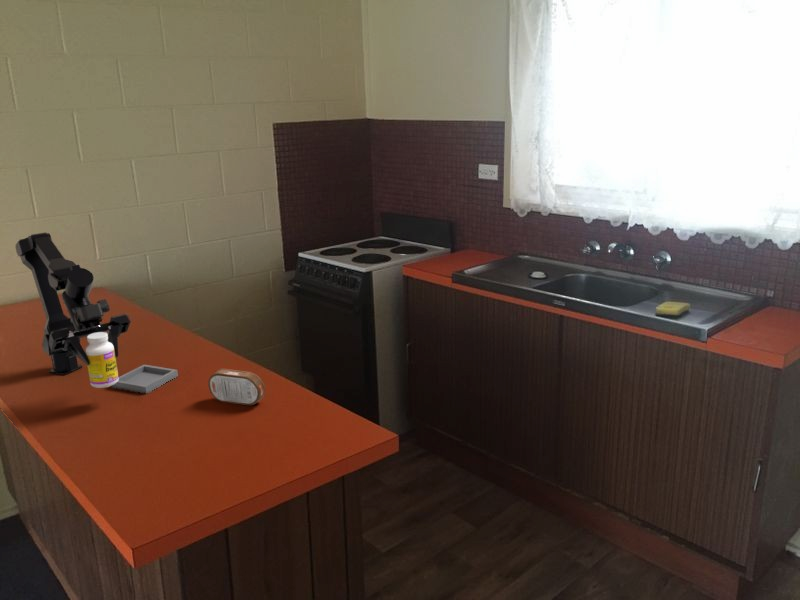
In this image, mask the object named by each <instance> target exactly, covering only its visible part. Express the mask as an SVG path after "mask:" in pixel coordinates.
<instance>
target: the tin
mask: <svg viewBox="0 0 800 600" xmlns="http://www.w3.org/2000/svg"><path fill="white" fill-rule="evenodd" d="M207 382H208V383H207V384H208V389H209V392H210V394H211V395H212V396H213V397H214V398H215V399H216V400H217V401H219V402H222V403H230V404H236V405H243V406H254V405H255V404H257V403H258V402H259V401H261V400H263V398H264V396H265V394H266V387H265V384H264V382H263V380H262V379H261V378H260V376H258V375H257V374H256V373H253V372H251V371H244V370H235V369H230V368H219V369H217V370H216V371H214V372H213V374H211V375H210V376H209V378H208V381H207Z"/></svg>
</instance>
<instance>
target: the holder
mask: <svg viewBox="0 0 800 600" xmlns="http://www.w3.org/2000/svg"><path fill="white" fill-rule="evenodd" d="M177 376H178V377H179V373H178V369H174V368H168V367H167V368H166V367H161V366H157V365H149V364H142V365H140V366H138V367H136V368H134V369H132V370H131V371H130V370H129V371H128V372H126V373H123V375H120V376H118V377H119V380H118V382H117V383H116V384H114V385H112V386H111V387H112V389H116V388H117V389H118V390H122V389H123V390H122V391H127V390H130V391H129V392H133V391H134V393H138V392H140V393H139V394H144V393H146V394H145V395H147V393H148V394H150V393H151V392H153V391H155V390H157V389H158V388H160V387H162V386H163V384H164V385H165V383H166V382H168V381H169V382H171V381H173V380H175V379H177V378H178V377H177ZM176 377H177V378H176ZM174 378H175V379H174ZM172 379H173V380H172ZM170 380H171V381H170ZM169 382H168V383H169ZM166 384H167V383H166ZM161 385H162V386H161ZM156 388H157V389H156ZM154 389H155V390H154ZM152 390H153V391H152Z"/></svg>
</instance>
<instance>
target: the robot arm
mask: <svg viewBox="0 0 800 600" xmlns="http://www.w3.org/2000/svg"><path fill="white" fill-rule="evenodd" d="M15 252H16V255H17V257H20V260H21V263H22V264H23V265H24V266H25V267H27V268H28V269H29V270H30V271H31V273H32V277H33V280H34V283H35V286H36V290H37V293H38V296H39V298H40V302H41V306H42V308H43V312H44V315H45V319H46V320H45V321H46V322H45V325H44V326H43V327H44V328H43V333H44V335H43V338H42V344H41V346H42V349H43V352H44V353H45V354H46V355H47V356H50V360H51V362H52V363H51V364H52V368H51V369H49V370H48V373H49V374H50V373H51V374H56V375H60V376H61V375H62V376H65V375H66V376H67V375H68V374H70V373H72V372H74V371H77V370H79V369H81V368H83V365H82V364H79V363H78V359H79V360H80V361H82V362H83V363H84V364H85V365H86V366H87V365H89V364H90V362H89V360H88V357H87V355H86V353H85V349H84V348H83V346H82V345H81V338H86V337H85V336H88V335H90V334H92V333H97V332H105V333H107V334H108V340H107V341H108V342H110V343H112V344H113V346H114V351H115V357H116V358H118V357H119V343H118V338H119V337H120V335H121V334H124V333H126V332H128V330H129V327H130V324H131V322H132V321H131V319H130V317H129V315H127V314H126V313H122V314H118V315H114V316H111V317H110V318H109V319H110V320H109V322H105V323H101V322H102V321H103V318H102V317H104V316H105V315H104V314H106V313H108V312H110V311H111V308H110V305H109V302H108V301H107V299H106V298H105V299H100V300H98V301H97V302H96V303H91V300H90V298H89V295H90V294H91V290H92V287H93V282H94V274H93V272H91V271H90V270H89V269H86V268H84V267H81V265H80V264H76V263H75V262H74V261H73V260H69V259H66V258H65V257H64V255H63V254H62V253H61V251H60V250H59V249H58V247H57V246H56V245H55V242H54V241H53V239H52V236H51V234H50V233H49V232H38V233H32V234H30V235H28V236H27V237H25V238H21V239H19V240H18V241H17V242H16V244H15ZM62 290H63V292H62V294H61V299H62V303H63V305H64V306H65V309H66V310H67V311H66V312H68V313H67V314H68V315H69V317H68V316H67V315H66V314H65V313H64V310H63V306H62V305H61V300H60V298H59V295H58V291H62Z"/></svg>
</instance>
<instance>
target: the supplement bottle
mask: <svg viewBox="0 0 800 600" xmlns="http://www.w3.org/2000/svg"><path fill="white" fill-rule="evenodd" d="M86 339H87V343H88V345H87V346H86V347H85V348H84V352H85V353H86V355H87V357H88V360H89V362H90V364H89V365H87V364H86V367H87V372H88V378H89V383H90V386H92V387H93V388H97V389H98V388H99V389H101V388H103V389H104V388H108V387H112V385H114V384H116V383H117V382H118V380H119V377H120V376H119V372H118V371H119V369H118V364H117V359H116V358H117V357H116V356H115V351H114V346H113V344H112V343H110V342H108V332H106V331H105V332H97V333H92V334H90V335H88V336H87V337H86Z"/></svg>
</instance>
